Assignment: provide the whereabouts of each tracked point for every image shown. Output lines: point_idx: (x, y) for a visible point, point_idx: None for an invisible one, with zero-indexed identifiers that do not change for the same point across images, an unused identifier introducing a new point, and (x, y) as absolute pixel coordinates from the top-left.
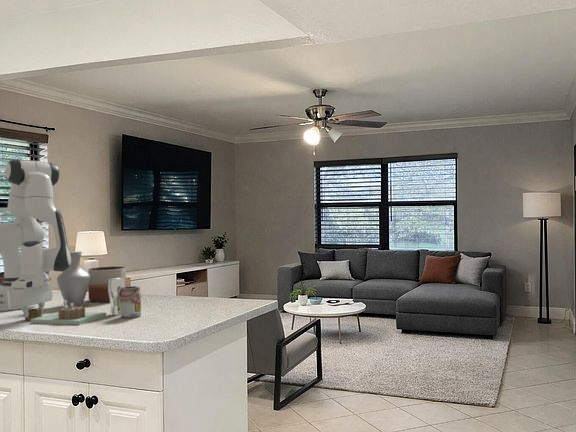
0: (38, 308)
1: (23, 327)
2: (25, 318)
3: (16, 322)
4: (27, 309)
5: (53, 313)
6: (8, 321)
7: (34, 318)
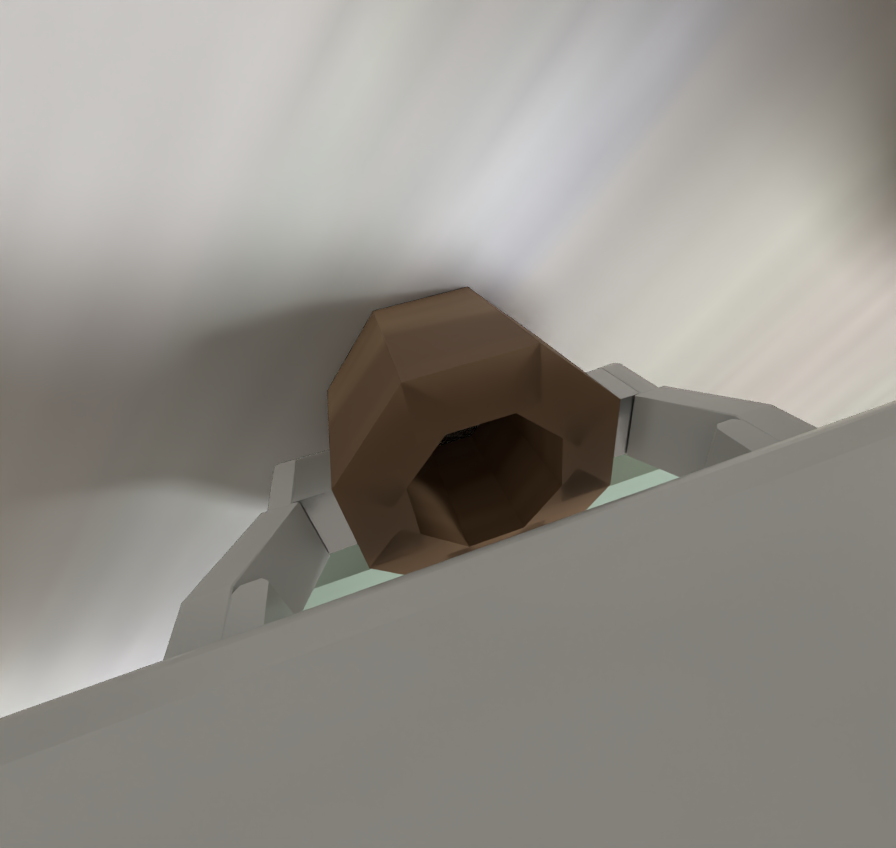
0: (610, 455)
1: (94, 681)
2: (330, 405)
3: (167, 373)
4: (484, 365)
5: (633, 485)
6: (74, 86)
7: (328, 587)
